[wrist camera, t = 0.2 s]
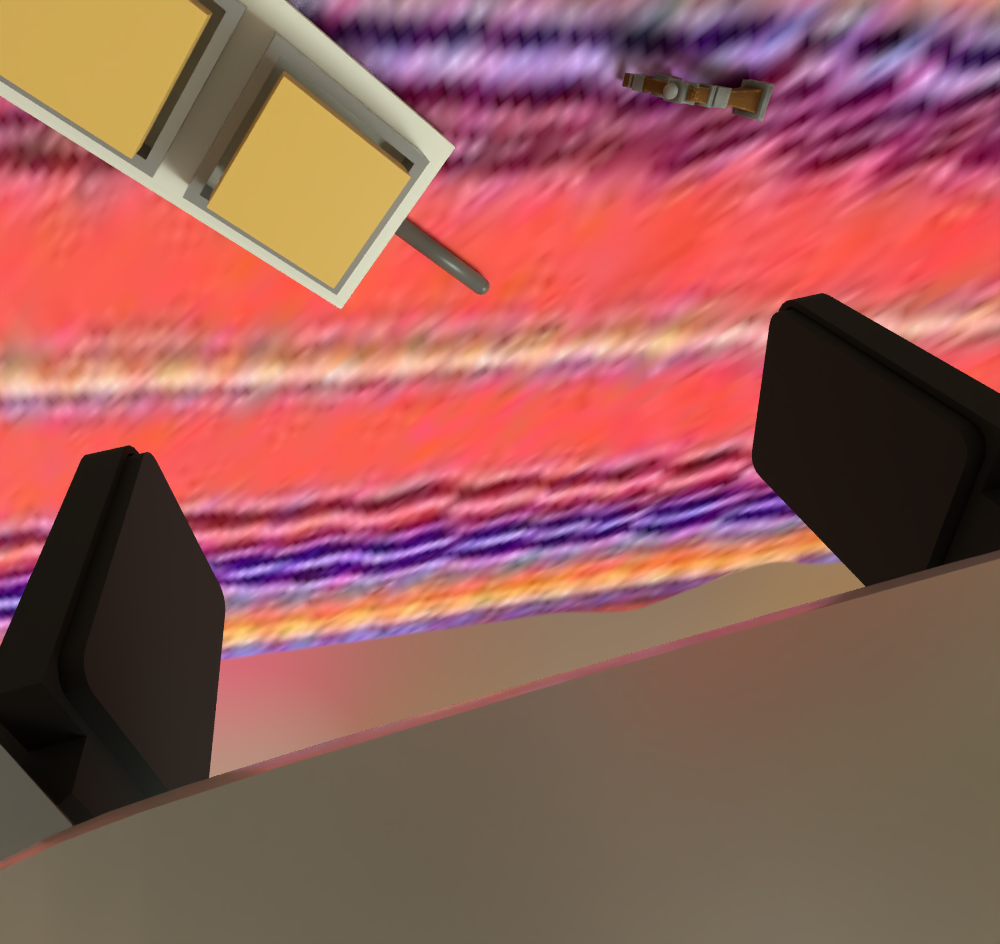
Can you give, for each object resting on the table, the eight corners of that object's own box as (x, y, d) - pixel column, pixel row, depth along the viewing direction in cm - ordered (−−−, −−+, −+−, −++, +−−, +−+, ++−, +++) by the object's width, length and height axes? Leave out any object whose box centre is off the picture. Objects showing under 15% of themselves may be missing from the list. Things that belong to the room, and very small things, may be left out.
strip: (-281, -490, 21) (-421, -604, 17) (539, 218, 39) (568, 246, 35) (-357, -158, 24) (-489, -185, 20) (435, 351, 43) (451, 391, 38)
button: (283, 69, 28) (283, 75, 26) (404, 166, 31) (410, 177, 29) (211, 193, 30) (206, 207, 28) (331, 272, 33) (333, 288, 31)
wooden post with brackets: (615, 58, 35) (685, 72, 32) (710, 71, 39) (777, 84, 37) (607, 98, 36) (674, 114, 33) (700, 106, 40) (765, 121, 38)
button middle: (41, -125, 23) (21, -133, 21) (212, 12, 26) (207, 15, 24) (-27, 38, 25) (-51, 42, 23) (140, 147, 28) (131, 159, 26)
